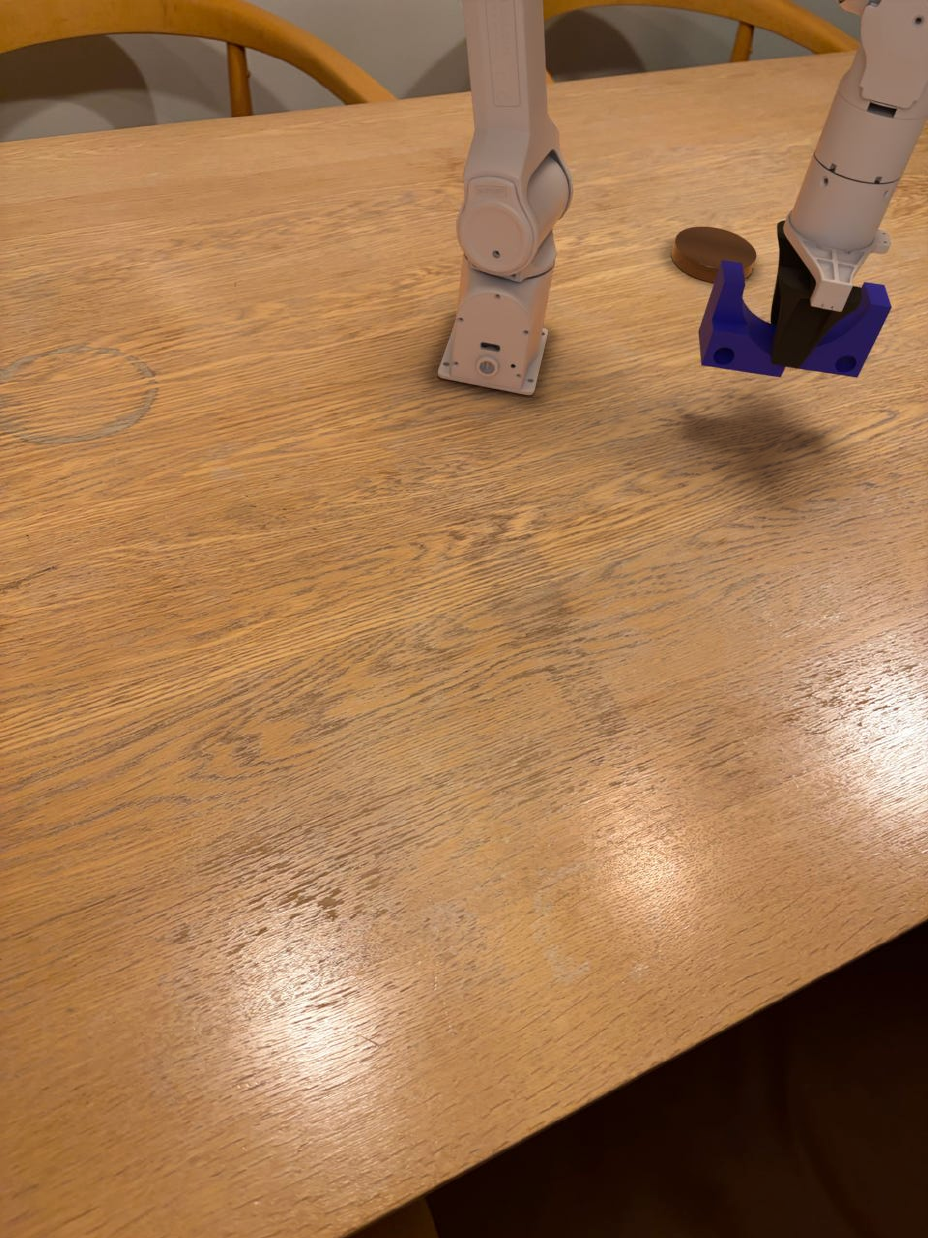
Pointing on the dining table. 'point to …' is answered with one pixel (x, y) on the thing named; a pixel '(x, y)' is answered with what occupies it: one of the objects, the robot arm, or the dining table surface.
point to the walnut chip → (710, 251)
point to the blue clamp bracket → (748, 339)
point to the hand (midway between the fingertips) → (784, 343)
